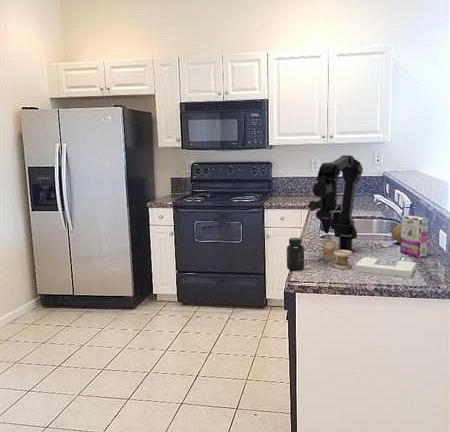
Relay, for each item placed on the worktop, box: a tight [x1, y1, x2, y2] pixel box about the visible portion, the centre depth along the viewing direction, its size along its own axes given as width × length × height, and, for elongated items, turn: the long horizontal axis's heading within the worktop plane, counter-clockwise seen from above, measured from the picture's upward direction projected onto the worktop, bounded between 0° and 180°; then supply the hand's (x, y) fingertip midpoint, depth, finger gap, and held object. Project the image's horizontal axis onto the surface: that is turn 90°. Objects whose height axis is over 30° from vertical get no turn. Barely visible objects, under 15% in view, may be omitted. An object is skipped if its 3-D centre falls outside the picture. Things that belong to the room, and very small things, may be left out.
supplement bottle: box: [286, 237, 305, 272], centre depth 188 cm, size 7×7×12 cm
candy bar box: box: [399, 214, 430, 259], centre depth 205 cm, size 11×5×16 cm, turn 23°
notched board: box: [354, 257, 417, 279], centre depth 184 cm, size 13×20×2 cm, turn 61°
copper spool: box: [322, 239, 337, 262], centre depth 200 cm, size 5×5×8 cm
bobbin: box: [333, 249, 353, 270], centre depth 190 cm, size 7×7×6 cm
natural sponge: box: [391, 223, 401, 245], centre depth 224 cm, size 9×9×10 cm
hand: (329, 231), depth 199 cm, fingers open, 9 cm apart
